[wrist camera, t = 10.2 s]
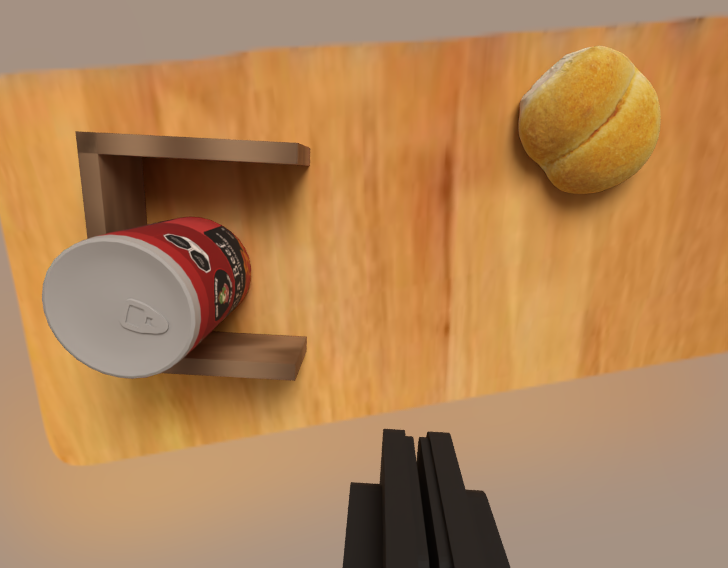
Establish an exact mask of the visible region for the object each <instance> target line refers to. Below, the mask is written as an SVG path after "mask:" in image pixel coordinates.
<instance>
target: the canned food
mask: <svg viewBox="0 0 728 568" xmlns="http://www.w3.org/2000/svg"><path fill="white" fill-rule="evenodd" d="M250 281H251V265H250V261H249V256H248V254H247V252H246V250H245V248H244V246H243V245H242V243H241V242H240V240H239V239H238V238H237V237H236V236H235V235H234V234H233V233H232V232H231V231H229V230H228V229H226V228H225V227H224V226H222V225H220V224H218V223H216V222H214V221H211V220H208V219H204V218H200V217H183V218H176V219H172V220H167V221H162V222H158V223H153V224H148V225H144V226H139V227H134V228H130V229H125V230H120V231H116V232H111V233H107V234H104V235H99V236H95V237H92V238H89V239H86V240H83V241H81V242H79V243H76V244H74V245H72V246H71V247H69V248H67V249H66V250H64V251H63V252H62V253H61V254H60V255H59V256H58V257H57V258H56V259H55V260H54V261H53V263H52V264H51V266H50V268H49V269H48V271H47V273H46V276H45V280H44V283H43V292H42V301H43V308H44V313H45V316H46V319H47V321H48V324H49V326H50V328H51V330H52V332H53V333H54V335H55V337H56V338H57V340H58V341H59V342H60V343H61V344H62V346H63V347H64V348H65V349H66V350H67V351H68V352H69V353H70V354H71V355H73V356H74V357H75V358H76V359H77V360H79V361H80V362H82V363H83V364H85V365H87V366H88V367H90V368H92V369H94V370H97V371H99V372H101V373H103V374H107V375H111V376H115V377H120V378H132V379H133V378H144V377H149V376H152V375H156V374H159V373H161V372H163V371H165V370H167V369H169V368H171V367H172V366H173V365H175V364H177V363H178V362H179V361H180V360H181V359H183V358H184V357H185V356H186V355H187V354H188V353H189V352H190V351H192V350H193V349H194V348H195V347H196V346H197V345H198V344H199V343H200V342H201V341H202V340H203V339H204V338H205V337H206V336H207V335H208V334H209V333H210V332H211V331H212V330H213V329H214V328H215V327H216V326H217V325H218V324H219V323H220V322H221V321H222V320H223V319H224V318H226V317H227V316H228V315H229V314H230V313H231V312H232V311H233V310H234V309H235V308H236V307H237V306H238V305H239V304H240V302H241V301H242V300H243V298H244V297H245V296H246V293H247V291H248V289H249V286H250Z"/></svg>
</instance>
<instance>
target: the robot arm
mask: <svg viewBox="0 0 728 568" xmlns="http://www.w3.org/2000/svg"><path fill="white" fill-rule="evenodd" d="M343 568H510V565H509V562H508V559H507V556H506V553H505V550H504V547H503V544H502V541H501V538H500V535H499V532H498V529H497V526H496V523H495V520H494V517H493V514H492V511H491V508H490V505H489V502H488V499H487V497H486V494H485V493H484V492H483V491H478V490H477V491H476V490H465V486H464V483H463V479H462V475H461V472H460V468H459V465H458V461H457V457H456V453H455V450H454V446H453V442H452V439H451V435H450V433H443V432H427V436H426V437H419V441H418V452H417V463H416V455H415V447H414V439H413V437H412V436H405V430H395V429H394V430H393V429H383V442H382V457H381V472H380V484H369V483H353V482H351V485H350V495H349V506H348V517H347V527H346V538H345V548H344V559H343Z"/></svg>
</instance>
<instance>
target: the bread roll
mask: <svg viewBox="0 0 728 568" xmlns="http://www.w3.org/2000/svg"><path fill="white" fill-rule="evenodd" d="M659 132H660V106H659V100H658V97H657V94H656V92H655V90H654V88H653V87H652V85H651V83H650V82H649V81H648V80H647V79H646V78H645V77H644V75H643V74H642V73H641V72H640V71H639V70H638V69H637V68H636V67H635V66H634V65H633V63H632V62H631V61H630V60H629V58H627V57H626V56H625V55H624V54H623V53H620V52H618V51H616V50H614V49H611V48H608V47H604V46H594V47H588V48H584V49H581V50H579V51H577V52H573V53H570V54H567V55H565V56H564V57H563V58H562V59H560V60H559V61H558V62H557V63H556V64H555V65H554V66H552V67H551V68H550V69H549V70H548V71H547V72H545V73H544V74H543V75H542V76H541V78H540V79H539V80H538V81H536V83H535V84H534V85H533V86H532V88H531V89H530V90H529V91H528V92H527V93H526V94H525V95H524V96H523V98H522V99H521V101H520V116H519V136H520V139H521V142H522V145H523V147H524V149H525V151H526V153H527V154H528V156H529V157H530V158H532V159H533V160H534V161H535V162H536V163H537V164H539V166H540V167H541V168H542V169H543V170H544V171H545V173H546V175H547V177H548V178H549V180H550V181H551V182H552V184H553V185H554V186H555V187H557V188H558V189H560V190H561V191H564V192H567V193H575V194H587V193H595V192H601V191H604V190H606V189H609V188H611V187H614V186H616V185H618V184H620V183H622V182H624V181H625V180H627V179H628V178H630V177H631V176H632V175H634V174H635V173H636V172H637V171H639V170H640V169H641V168H642V166H643V165H644V164H645V163H646V161H647V160H648V159H649V157H650V156H651V154H652V152H653V150H654V148H655V146H656V143H657V140H658V136H659Z"/></svg>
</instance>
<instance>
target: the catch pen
mask: <svg viewBox="0 0 728 568" xmlns="http://www.w3.org/2000/svg"><path fill="white" fill-rule="evenodd" d="M75 132H76V131H75ZM76 140H77V149H78V158H79V167H80V176H81V184H82V193H83V202H84V211H85V220H86V228H87V237H88V239H89V238H92V237H95V236H99V235H104V234H107V233H111V232H116V231H120V230H125V229H130V228H134V227H139V226H144V225H147V216H146V203H145V190H144V177H143V165H142V157H152V158H171V159H190V160H209V161H228V162H247V163H266V164H285V165H304V166H310V148H309V147H306V146H304V145H301V144H299V143H287V142H268V141H249V140H230V139H210V138H191V137H172V136H153V135H133V134H114V133H95V132H76ZM306 344H307V337H301V336H283V335H265V334H247V333H229V332H210V333H209V334H208V335H207V336H206V337H205V338H204V339H203V340H202V341H201V342H200V343H199V344H198V345H197V346H196V347H195V348H194V349H193V350H192V351H190V352H189V353H188V354H187V355H186V356H185V357H184V358H183V359H181V360H180V361H179V362H178V363H177V364H175V365H173V366H172V367H171V368H169V369H167V370H165V371H163V372H161V373H171V374H188V375H206V376H224V377H241V378H259V379H276V380H294V381H295V379H296V377H297V374H298V372H299V369H300V366H301V364H302V361H303V358H304V356H305V353H306Z"/></svg>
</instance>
